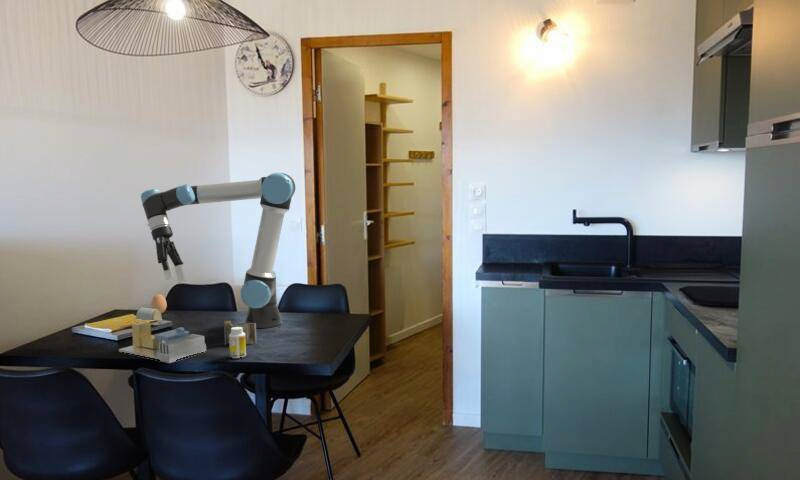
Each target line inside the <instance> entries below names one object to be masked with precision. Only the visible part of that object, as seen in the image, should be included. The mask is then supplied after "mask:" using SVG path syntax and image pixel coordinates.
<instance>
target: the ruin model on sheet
mask: <svg viewBox="0 0 800 480" xmlns="http://www.w3.org/2000/svg"><path fill="white" fill-rule="evenodd" d="M223 326H224V327H223V329H224V345H225V346H226V345H227V344H229V334H230V333H231V328H233V327H242V328H243V332H244V333H245V339H246V345H255V344H257V342H258V341H257V340H258V339H257V328H256V323H249V324H245V323H232V321H231V320H227V321H226V320H224V325H223Z"/></svg>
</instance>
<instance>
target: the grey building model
mask: <svg viewBox="0 0 800 480" xmlns="http://www.w3.org/2000/svg"><path fill="white" fill-rule="evenodd" d="M153 335H154V337H155V339H158V340H162V343H159V347H158V348H154V349H152V348H147V347H143V346H135V345H133V344H132V345H130V346H126V347H122V348H118V352H119V353H122V352H124V353H123V354H126V353H130V354H129V355H131V354H135V355H140V356H145V357H150V358H155V359H159V360H160V361H159V362H163V363H167V364H172V363H174V362H177V361H176V360H177V359H180V358H183V357H186V356H189V355H193V354H197V353H201V352H204V353H206V352H207V344H206V341H205V335H202V334H201V335H200V334H195V333H192V334H190V331H188V330H185V327H181V326H180V327H176V329H171V330H166V331H164V332H160V333H156V334H153ZM205 351H206V352H205ZM201 354H202V353H201ZM135 355H134V356H135ZM140 356H139V357H140Z"/></svg>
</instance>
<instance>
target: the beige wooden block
mask: <svg viewBox="0 0 800 480" xmlns="http://www.w3.org/2000/svg"><path fill="white" fill-rule="evenodd" d="M131 331H132V332H131V333H132V346H133V345H135V346H143V347H147V348H152V349H154V348H158V347H159V343H162V341H163V340H158V339H155V337H154V335H155V334H152V326H151V325H150V322H146V321H142V322H135V323H134V322H133V323H131Z"/></svg>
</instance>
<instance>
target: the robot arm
mask: <svg viewBox="0 0 800 480" xmlns="http://www.w3.org/2000/svg"><path fill="white" fill-rule="evenodd" d="M295 192H296V183H295V180H294V178H293V177H291V176H290V175H289V174H287V173H284V172H283V173H282V172H274V173H270V174H269V175H267V176H262V177H260V178H259V179H256V180H255V179H254V180H246V181H244V180H243V181H233V182H222V183H213V184H211V183H210V184H201V185H199V184H198V185H190V184H188V183H187V184H182V185H178V186H176V187H174V188H170V189H168V190H165V191H162V192H161V191H160V189H158V188H152V189H147V190H145V191H143V192H142V193H141V195H140V199H141V203H142V207H143V210H144V213H145V216H146V219H147V227H149V229H150V231H151V232H150V233H151V236H152V240H153V241H154V242H155V246H156V247H155V248H156V256H157V263H158V264H161V268H162V271H163V274H164V278H165V280H167V281H168V280H170V279H173V278H175V277H174V274H173V271H172V268H171V267H172V266H171V264H170V261H169V260H168V257H169V258H170V260H171V262H172V264H173V266H174V267H173V268H174V271H175V274H176V277H177V278H176V279H177V281H178V283H183V282H185V281H187V279H186V276H185V273H184V270H183V266H182V265H184V262H183V261H182V258H181V257H180V254H179V253H178V250H177V247H176V245H175V242H174V240H172V241H171V240H170V238H172V237H173V236H174V232H173V230H172V227H171V224H170V220H169V216H168V214H167V212H169V211H171V210H174V209H177V208H180V207H184V206H189V205H190V206H192V205H199V204H201V205H202V204H211V203H221V202H234V201H245V200H246V201H247V200H254V199H255V200H256V199H260V202H259V205H260V207H261V208H262V211H261V217H260V222H259V226H258V232H257V236H256V240H255V241H256V242H255V246H254V252H253V256H252V260H251V266H250V268H248V269H247V270H246V272H245V277H244V281H243V285H242V286H241V288H240V293H239V294H240V298H241V301H242V302H243V303H244V305H245V306H247V307H248V309H247V311H246V315H245V316H246V317H245V319H244V324H249V323H256V329H269V328H273V327H277V326H281V324H282V317H281V313H280V311H279V308H278V304H277V276H276V271H275V270H274V267H275V261H276V257H277V251H278V246H279V241H280V236H281V231H282V227H283V223H284V217H285V214H286V213H287V212H288V211H290V208H291V203H292V197H293V196H294V195H295Z"/></svg>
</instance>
